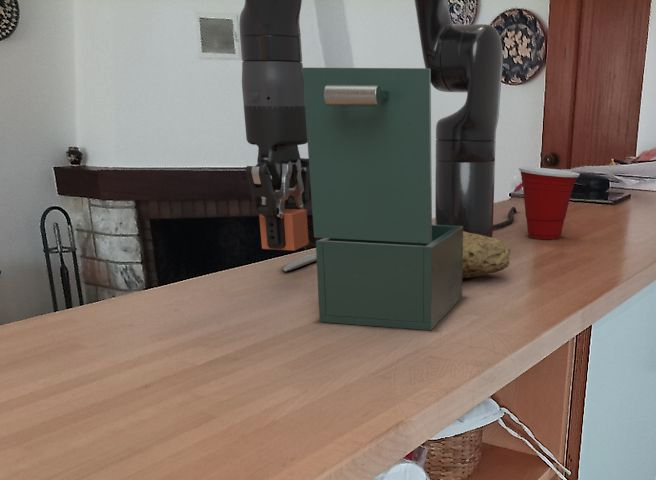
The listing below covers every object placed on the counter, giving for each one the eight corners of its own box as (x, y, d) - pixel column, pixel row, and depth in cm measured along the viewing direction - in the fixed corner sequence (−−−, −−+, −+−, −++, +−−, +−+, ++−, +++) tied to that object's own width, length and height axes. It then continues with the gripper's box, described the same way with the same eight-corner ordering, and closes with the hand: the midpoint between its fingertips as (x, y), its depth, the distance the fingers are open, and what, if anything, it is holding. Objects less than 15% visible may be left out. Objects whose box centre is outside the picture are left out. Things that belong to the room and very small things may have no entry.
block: (277, 242, 103) (274, 208, 101) (308, 244, 102) (306, 209, 100) (261, 248, 99) (258, 212, 97) (294, 250, 98) (292, 214, 96)
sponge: (350, 286, 108) (474, 272, 97) (346, 228, 107) (470, 208, 96) (406, 286, 118) (523, 274, 108) (403, 234, 118) (520, 217, 107)
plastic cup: (579, 242, 137) (584, 171, 132) (517, 241, 137) (520, 170, 133) (571, 232, 147) (576, 166, 143) (514, 231, 147) (517, 165, 143)
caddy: (365, 290, 100) (363, 221, 96) (462, 297, 97) (463, 225, 94) (319, 322, 85) (315, 241, 82) (430, 330, 83) (431, 247, 80)
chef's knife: (266, 272, 110) (285, 273, 109) (265, 264, 109) (284, 264, 108) (332, 249, 126) (348, 250, 125) (331, 242, 126) (348, 242, 125)
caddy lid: (305, 67, 76) (282, 68, 71) (430, 68, 73) (416, 69, 69) (316, 236, 82) (296, 246, 78) (432, 242, 80) (418, 253, 75)
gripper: (278, 104, 87) (289, 256, 93) (326, 102, 100) (333, 236, 106) (217, 103, 88) (232, 253, 95) (272, 101, 101) (282, 234, 108)
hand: (285, 243), depth 100 cm, fingers closed on block, 4 cm apart
